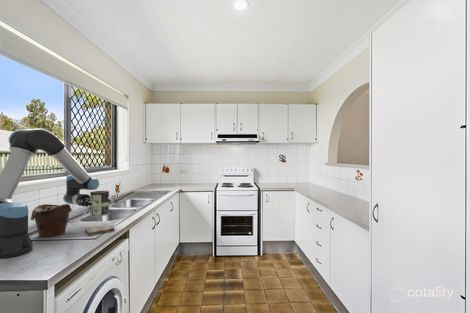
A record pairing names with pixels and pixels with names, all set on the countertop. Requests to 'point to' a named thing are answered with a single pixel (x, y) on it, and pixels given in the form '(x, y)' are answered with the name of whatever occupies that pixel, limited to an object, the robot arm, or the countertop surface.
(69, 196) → the robot arm
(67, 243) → the countertop surface
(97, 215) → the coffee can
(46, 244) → the countertop surface
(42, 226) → the brown clay flowerpot
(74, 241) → the countertop surface
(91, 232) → the walnut board
